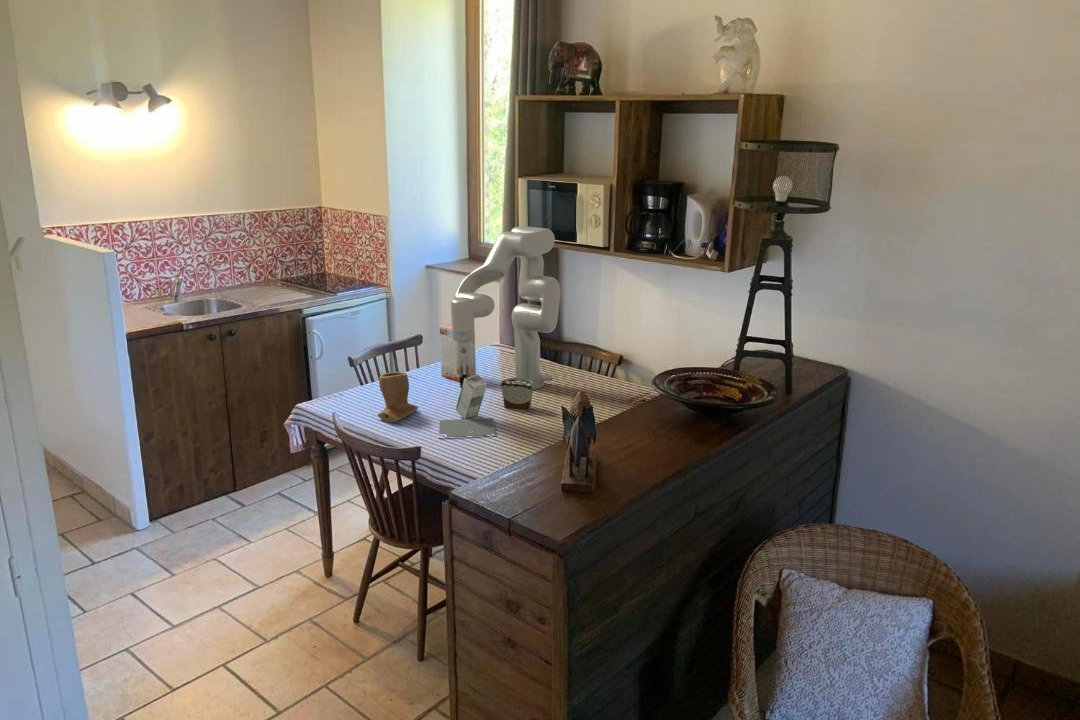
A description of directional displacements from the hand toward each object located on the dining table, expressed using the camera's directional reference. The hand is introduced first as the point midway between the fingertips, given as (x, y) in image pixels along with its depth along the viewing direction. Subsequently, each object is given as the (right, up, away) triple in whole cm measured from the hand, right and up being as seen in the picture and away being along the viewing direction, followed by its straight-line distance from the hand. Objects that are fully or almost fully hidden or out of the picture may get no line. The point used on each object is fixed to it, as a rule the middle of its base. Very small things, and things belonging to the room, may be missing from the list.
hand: (464, 386), depth 268 cm
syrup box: (0, -9, +2) cm, 9 cm away
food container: (+18, -8, +11) cm, 23 cm away
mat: (+1, -14, -9) cm, 16 cm away
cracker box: (-6, +2, +41) cm, 41 cm away
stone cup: (-24, -10, +3) cm, 26 cm away
